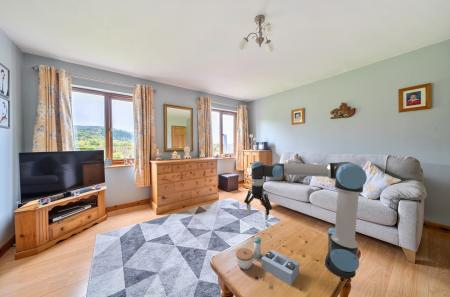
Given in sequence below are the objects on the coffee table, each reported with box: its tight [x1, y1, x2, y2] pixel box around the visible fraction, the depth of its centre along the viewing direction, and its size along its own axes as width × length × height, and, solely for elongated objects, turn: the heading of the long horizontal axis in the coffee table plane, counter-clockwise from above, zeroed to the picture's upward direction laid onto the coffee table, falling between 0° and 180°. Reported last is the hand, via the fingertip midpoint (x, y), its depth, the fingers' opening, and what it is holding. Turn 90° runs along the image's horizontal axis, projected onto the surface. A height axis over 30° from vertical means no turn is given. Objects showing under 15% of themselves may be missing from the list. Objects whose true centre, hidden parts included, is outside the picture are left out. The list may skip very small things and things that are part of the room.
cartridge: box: [253, 237, 262, 258], centre depth 109 cm, size 5×5×11 cm
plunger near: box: [288, 262, 294, 271], centre depth 92 cm, size 3×3×4 cm
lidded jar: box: [235, 247, 254, 270], centre depth 101 cm, size 11×11×9 cm
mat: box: [253, 252, 265, 262], centre depth 109 cm, size 7×7×1 cm
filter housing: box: [260, 249, 300, 286], centre depth 97 cm, size 12×18×6 cm, turn 46°
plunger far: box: [266, 251, 272, 259], centre depth 101 cm, size 3×3×4 cm
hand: (257, 216), depth 109 cm, fingers open, 13 cm apart
